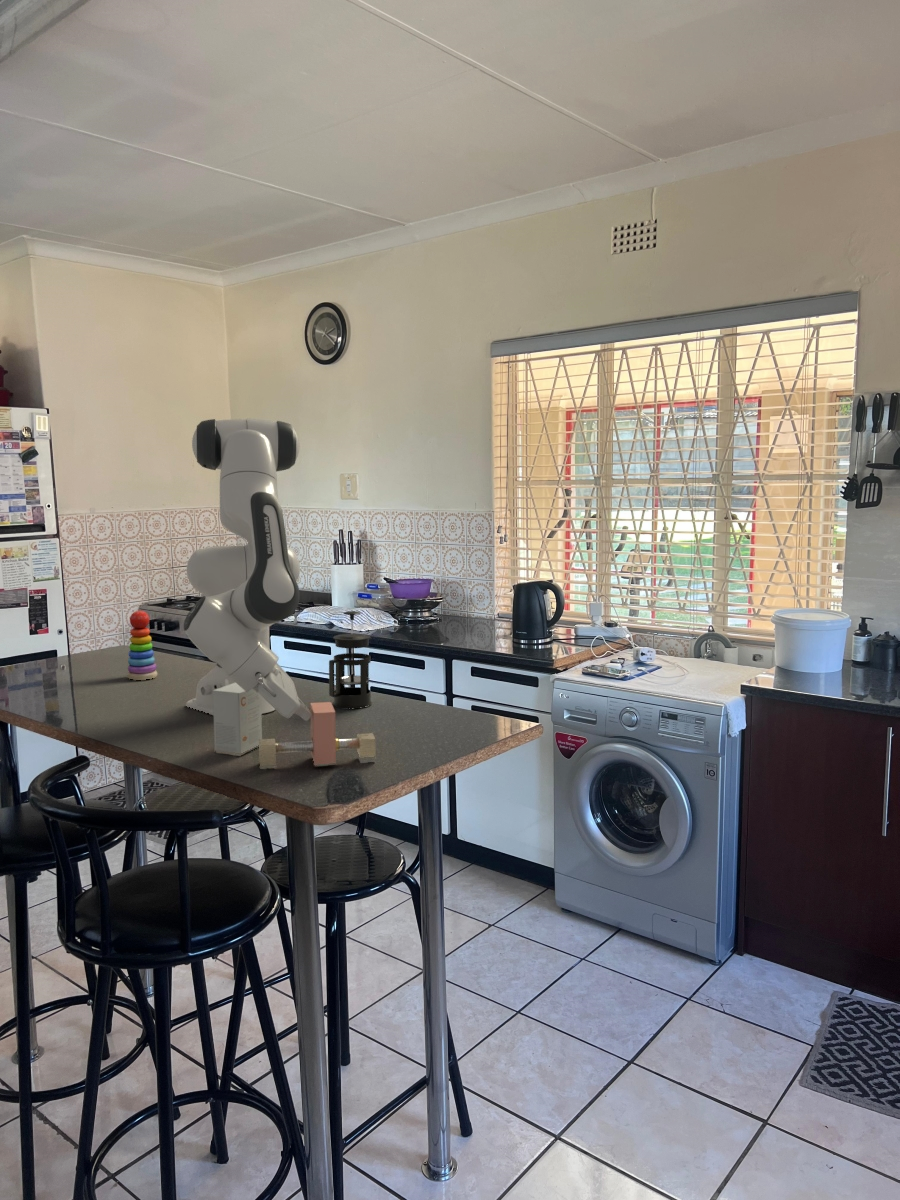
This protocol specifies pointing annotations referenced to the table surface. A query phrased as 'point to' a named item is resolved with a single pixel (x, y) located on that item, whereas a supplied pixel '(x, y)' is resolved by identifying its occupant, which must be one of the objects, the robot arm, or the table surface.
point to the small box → (236, 718)
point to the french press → (352, 695)
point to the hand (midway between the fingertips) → (308, 716)
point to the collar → (323, 733)
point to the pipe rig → (270, 748)
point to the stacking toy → (141, 649)
